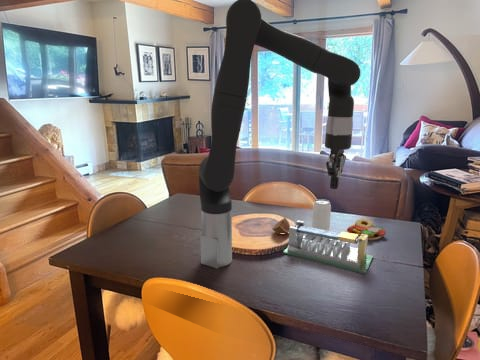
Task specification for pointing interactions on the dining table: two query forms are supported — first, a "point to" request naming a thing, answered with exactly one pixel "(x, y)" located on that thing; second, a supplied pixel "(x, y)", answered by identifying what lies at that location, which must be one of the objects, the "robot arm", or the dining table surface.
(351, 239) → the grey and tan bar
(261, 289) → the dining table surface
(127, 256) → the dining table surface
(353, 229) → the toy food set
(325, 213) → the can
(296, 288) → the dining table surface
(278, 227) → the fruit slice
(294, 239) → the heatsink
